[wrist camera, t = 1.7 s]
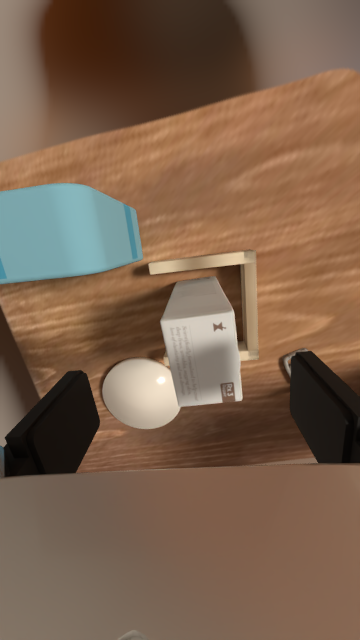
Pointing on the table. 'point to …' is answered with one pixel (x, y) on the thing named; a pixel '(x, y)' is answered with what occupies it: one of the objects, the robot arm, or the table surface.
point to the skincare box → (202, 343)
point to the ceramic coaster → (141, 393)
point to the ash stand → (248, 290)
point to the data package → (64, 233)
